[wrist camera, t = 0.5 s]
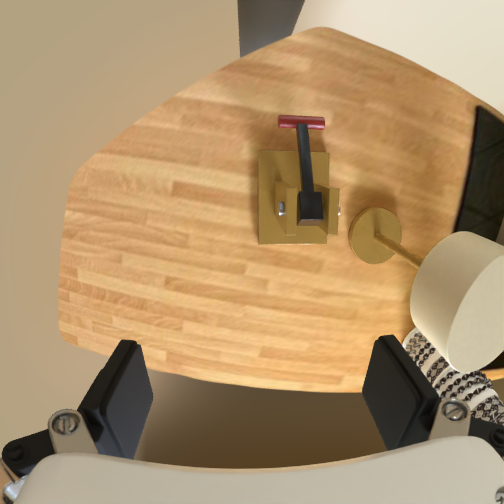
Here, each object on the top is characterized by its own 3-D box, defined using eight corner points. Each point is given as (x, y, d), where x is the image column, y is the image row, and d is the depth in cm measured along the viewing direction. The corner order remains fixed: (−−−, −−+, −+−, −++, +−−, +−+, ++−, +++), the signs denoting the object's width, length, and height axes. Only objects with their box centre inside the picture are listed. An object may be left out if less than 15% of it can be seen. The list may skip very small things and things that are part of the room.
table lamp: (343, 198, 38) (468, 253, 14) (406, 201, 38) (542, 251, 14) (339, 269, 41) (430, 385, 17) (399, 267, 41) (508, 358, 17)
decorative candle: (389, 360, 46) (453, 464, 22) (414, 317, 44) (499, 413, 20) (423, 365, 47) (486, 453, 23) (446, 324, 45) (526, 406, 21)
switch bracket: (257, 151, 36) (263, 144, 25) (326, 152, 36) (360, 149, 25) (258, 242, 39) (263, 274, 28) (324, 241, 39) (353, 272, 28)
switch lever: (277, 121, 31) (279, 110, 28) (320, 123, 31) (324, 112, 28) (282, 225, 29) (285, 219, 27) (331, 225, 29) (338, 219, 27)
